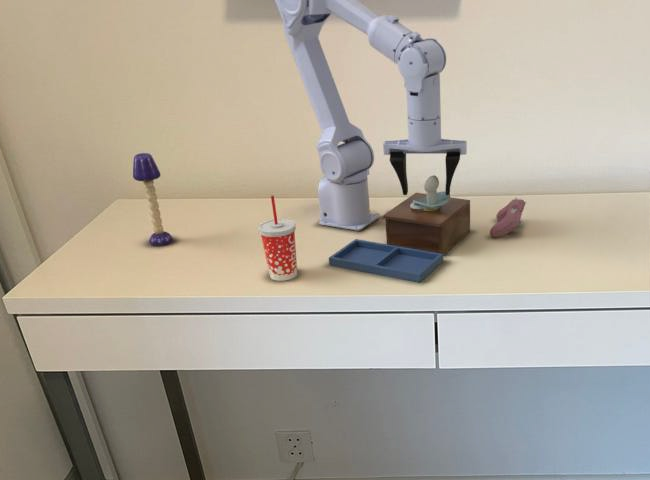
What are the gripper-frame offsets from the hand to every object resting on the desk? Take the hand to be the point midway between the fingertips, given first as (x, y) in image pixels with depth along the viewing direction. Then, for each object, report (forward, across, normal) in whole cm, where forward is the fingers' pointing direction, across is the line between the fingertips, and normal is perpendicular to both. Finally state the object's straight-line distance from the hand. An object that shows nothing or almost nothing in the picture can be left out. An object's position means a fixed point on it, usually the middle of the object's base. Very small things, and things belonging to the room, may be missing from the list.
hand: (426, 193), depth 136 cm
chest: (+9, 0, 0) cm, 9 cm away
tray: (+9, +7, +11) cm, 16 cm away
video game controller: (+9, -15, -5) cm, 18 cm away
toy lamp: (+9, +50, +2) cm, 51 cm away
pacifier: (+3, 0, 0) cm, 3 cm away
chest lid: (+3, 0, 0) cm, 3 cm away
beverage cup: (+9, +24, +16) cm, 30 cm away
